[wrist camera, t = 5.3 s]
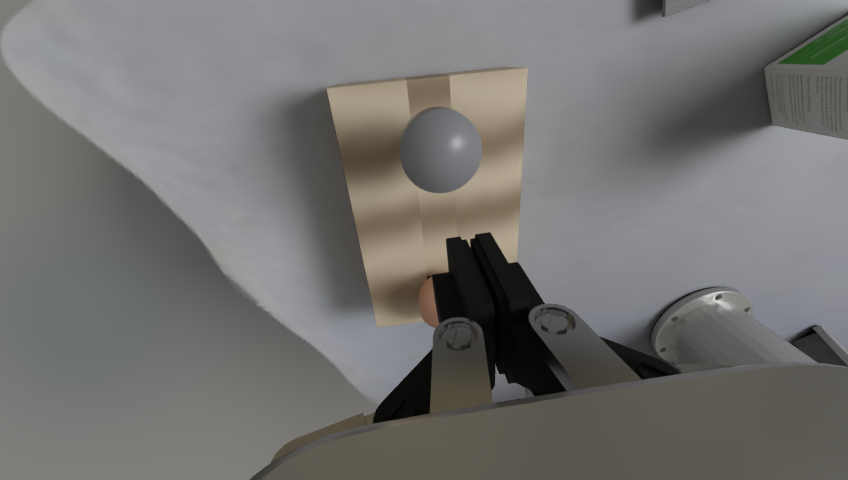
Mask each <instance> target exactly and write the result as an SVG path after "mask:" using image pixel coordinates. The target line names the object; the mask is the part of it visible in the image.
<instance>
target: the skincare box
mask: <svg viewBox="0 0 848 480" xmlns="http://www.w3.org/2000/svg"><path fill="white" fill-rule="evenodd" d="M764 75H765V81H766V88H767V94H768V101H769V108H770V115H771V122H772V125H774V126H780V127H784V128H790V129H795V130H800V131H805V132H810V133H815V134H820V135H826V136H831V137H836V138H841V139H847V140H848V15H847V16H846V17H844V18H842V19H841V20H839V21H837V22H835V23H834V24H832V25H830V26H829V27H827V28H826V29H824V30H823V31H821V32H820V33H818V34H817V35H815V36H813V37H812V38H810V39H809V40H807V41H805V42H804V43H802V44H801V45H799V46H798V47H796V48H794V49H793V50H791V51H790V52H788V53H786V54H785V55H783V56H782V57H780V58H778V59H777V60H775V61H773V62H772V63H770V64H769V65H767V66H766V67H765V68H764Z"/></svg>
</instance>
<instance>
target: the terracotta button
mask: <svg viewBox="0 0 848 480" xmlns="http://www.w3.org/2000/svg"><path fill="white" fill-rule="evenodd" d="M418 296H419V307H420V314H421V317H422V318H423V320H424V321H425V322H426V323H427V324H429V325H430V326H432V327H435V328H436V327H437V326H438V325H439V321H438V316H437V310H436V304H435V297H434V290H433V282H432V276H431V277H430V278H429V279H427V280H426V281H425V282H424V283H423V285H422V286H421V288H420V290H419V295H418Z"/></svg>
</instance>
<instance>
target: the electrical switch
mask: <svg viewBox="0 0 848 480" xmlns="http://www.w3.org/2000/svg"><path fill="white" fill-rule="evenodd" d="M812 328H813V329H814V330H815V331H816V332H817V333H814V334H811V335H808V336H806V337H804V338H801V339H798V340H795V341H793V342H794V344H795V345H796V346H797V347H798V348H799V350H800V351H802V352H803V353H804V354H806V355H807V356H809V357H810V358H812V359H813V360H814V361H816V362H817V363H825V364H832V365H839V366H846V367H848V352H847V351H846V350H845V349H844V348H843V347H842V346H841V345H840V344H839V343H838V342H837V340H836V339H835V338H834V337H833V336H832V335H831V334H830V333H829V332H827V331H826V330H825V329H824V328H823V327H822V326H816V327H812Z"/></svg>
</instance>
